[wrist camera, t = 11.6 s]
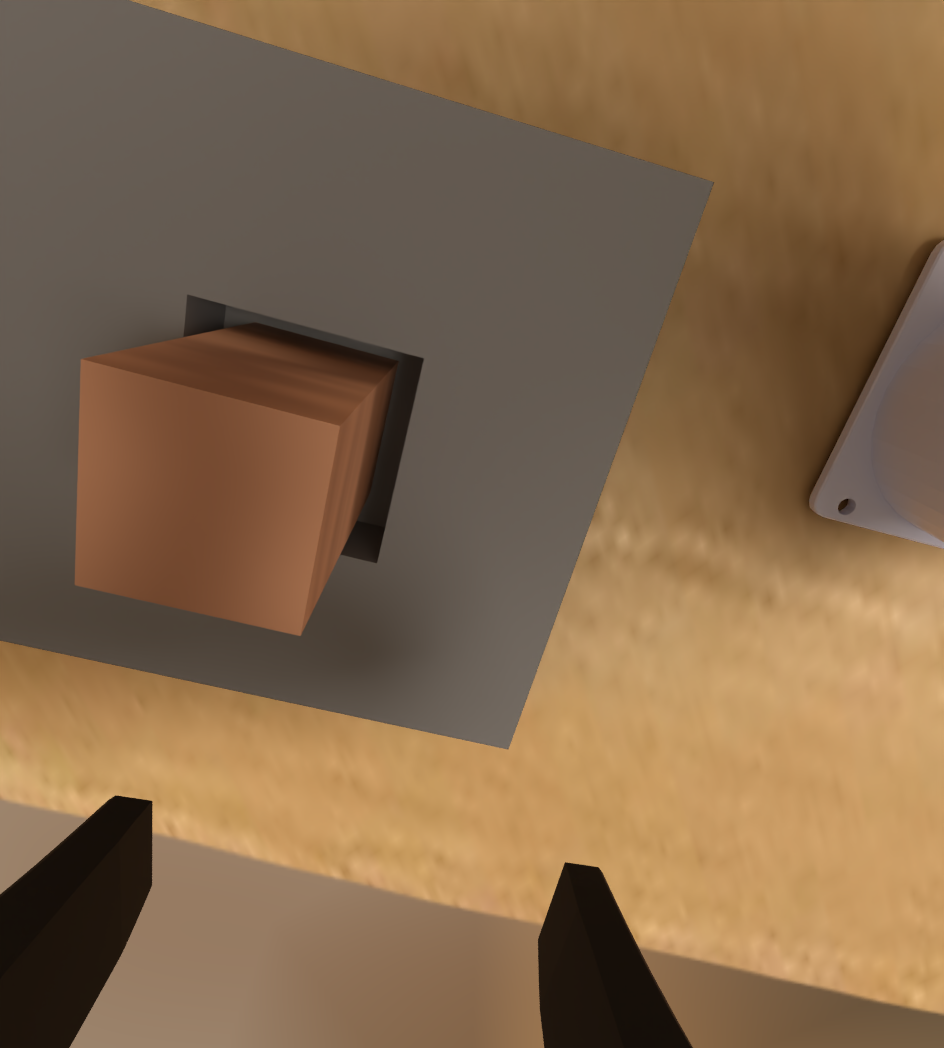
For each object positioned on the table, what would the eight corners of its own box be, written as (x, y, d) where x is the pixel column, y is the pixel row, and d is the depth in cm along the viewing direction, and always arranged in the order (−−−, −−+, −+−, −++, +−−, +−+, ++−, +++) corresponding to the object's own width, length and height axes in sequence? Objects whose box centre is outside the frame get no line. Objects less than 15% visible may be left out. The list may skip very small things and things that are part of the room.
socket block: (672, 198, 16) (713, 182, 13) (504, 689, 22) (508, 749, 19) (40, 4, 15) (-63, -60, 12) (39, 585, 20) (-30, 633, 18)
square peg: (398, 360, 17) (339, 426, 10) (370, 492, 19) (300, 636, 11) (255, 322, 17) (81, 359, 9) (237, 459, 18) (74, 584, 11)
